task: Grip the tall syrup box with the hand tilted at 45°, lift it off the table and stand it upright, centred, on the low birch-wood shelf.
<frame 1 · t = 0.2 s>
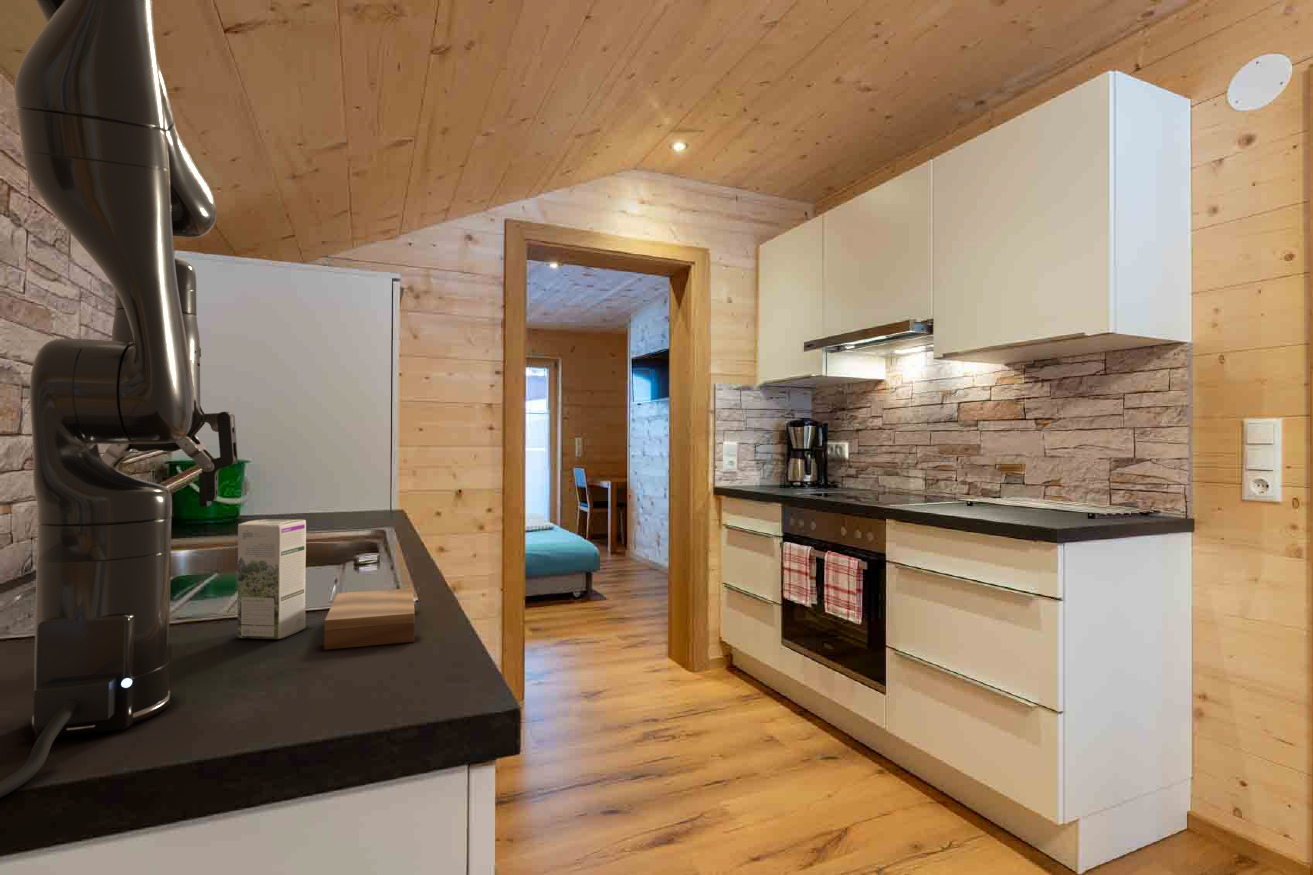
hand: (159, 507, 72), 17 cm above the counter, tool pointing down, fingers open, 8 cm apart
shelf: (373, 629, 88), on the counter
syrup box: (272, 635, 86), on the counter
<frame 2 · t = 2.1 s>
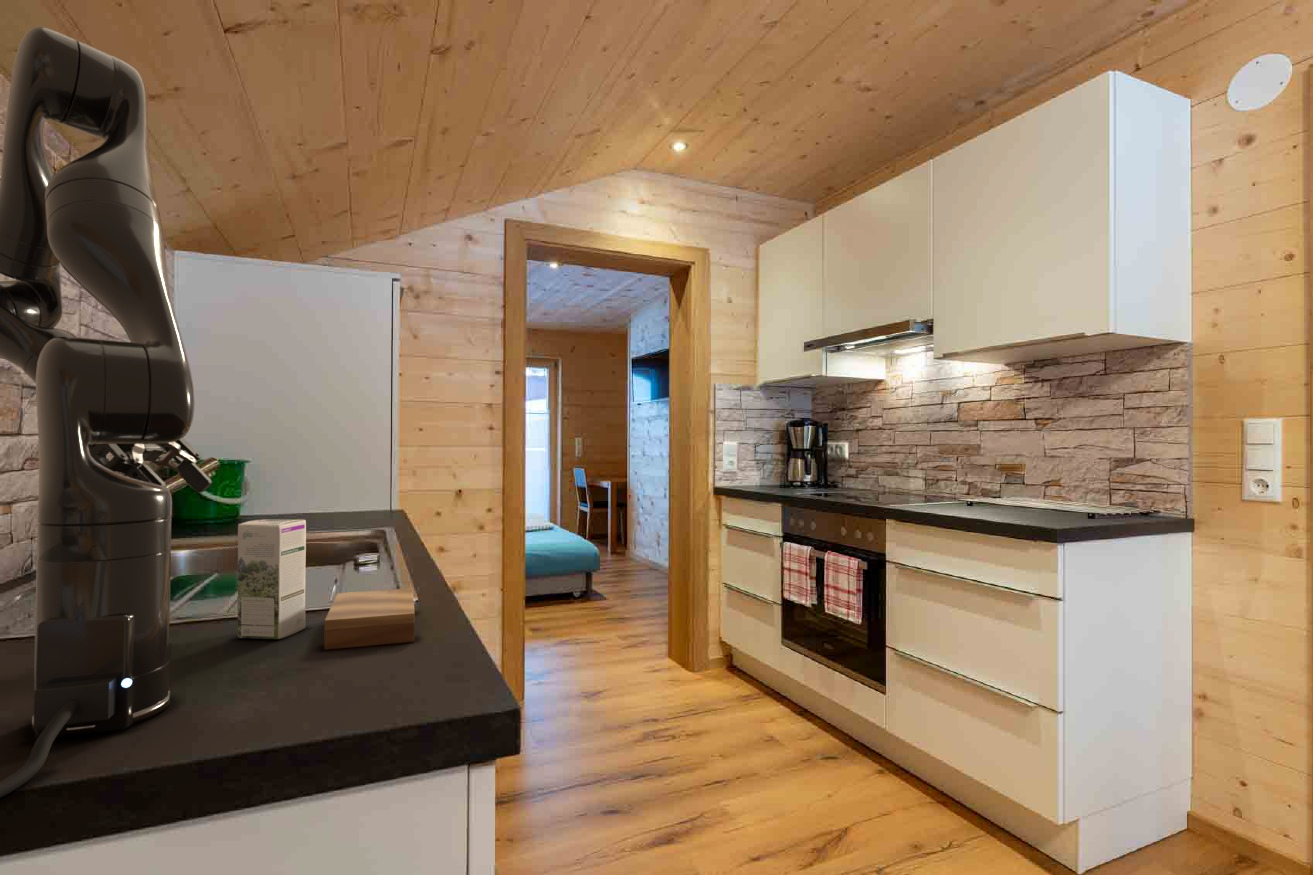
hand: (183, 490, 86), 18 cm above the counter, tool tilted 45°, fingers open, 8 cm apart
nothing on the counter moved.
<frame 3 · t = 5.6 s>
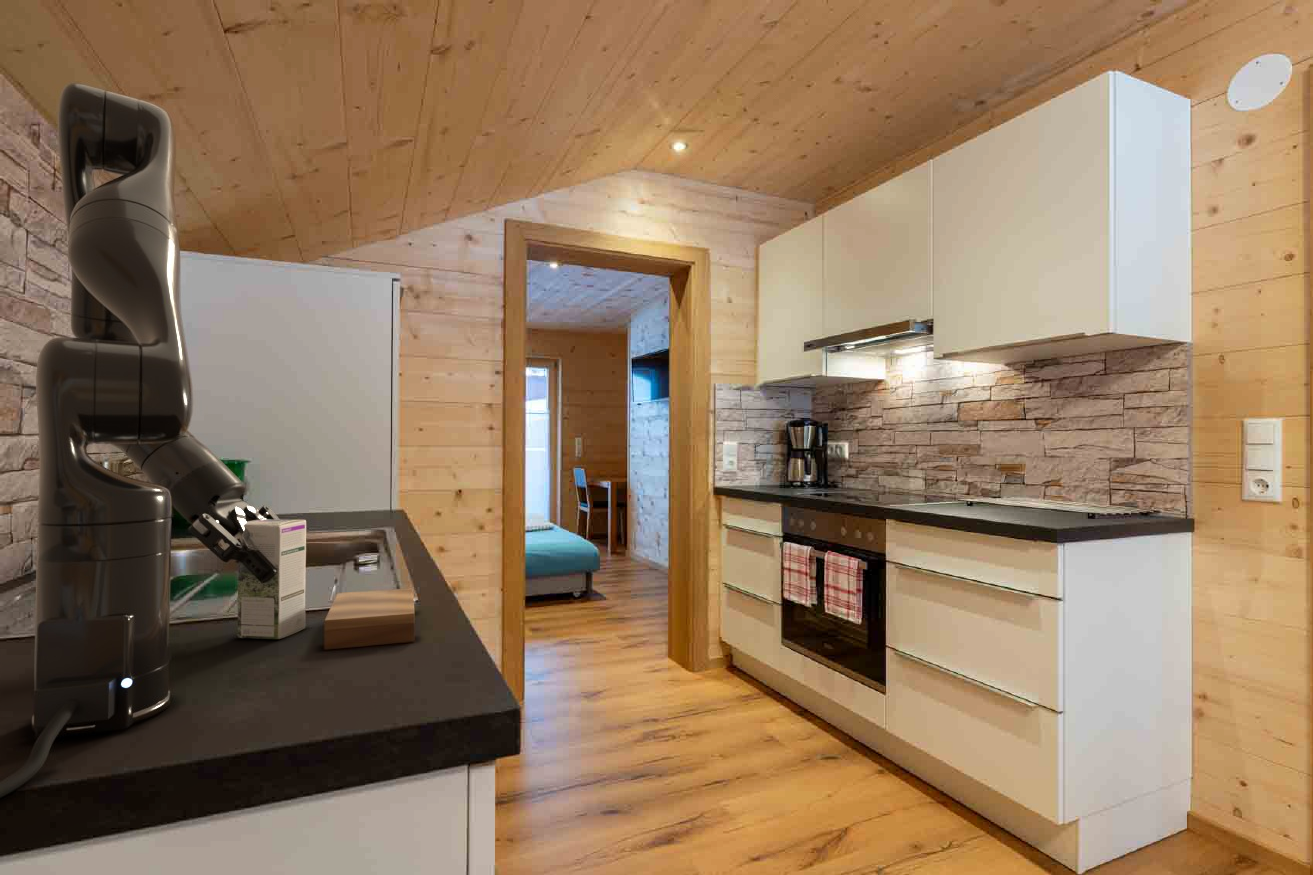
hand: (285, 572, 86), 8 cm above the counter, tool tilted 45°, fingers closed on syrup box, 6 cm apart
syrup box: (271, 635, 86), on the counter, touching gripper
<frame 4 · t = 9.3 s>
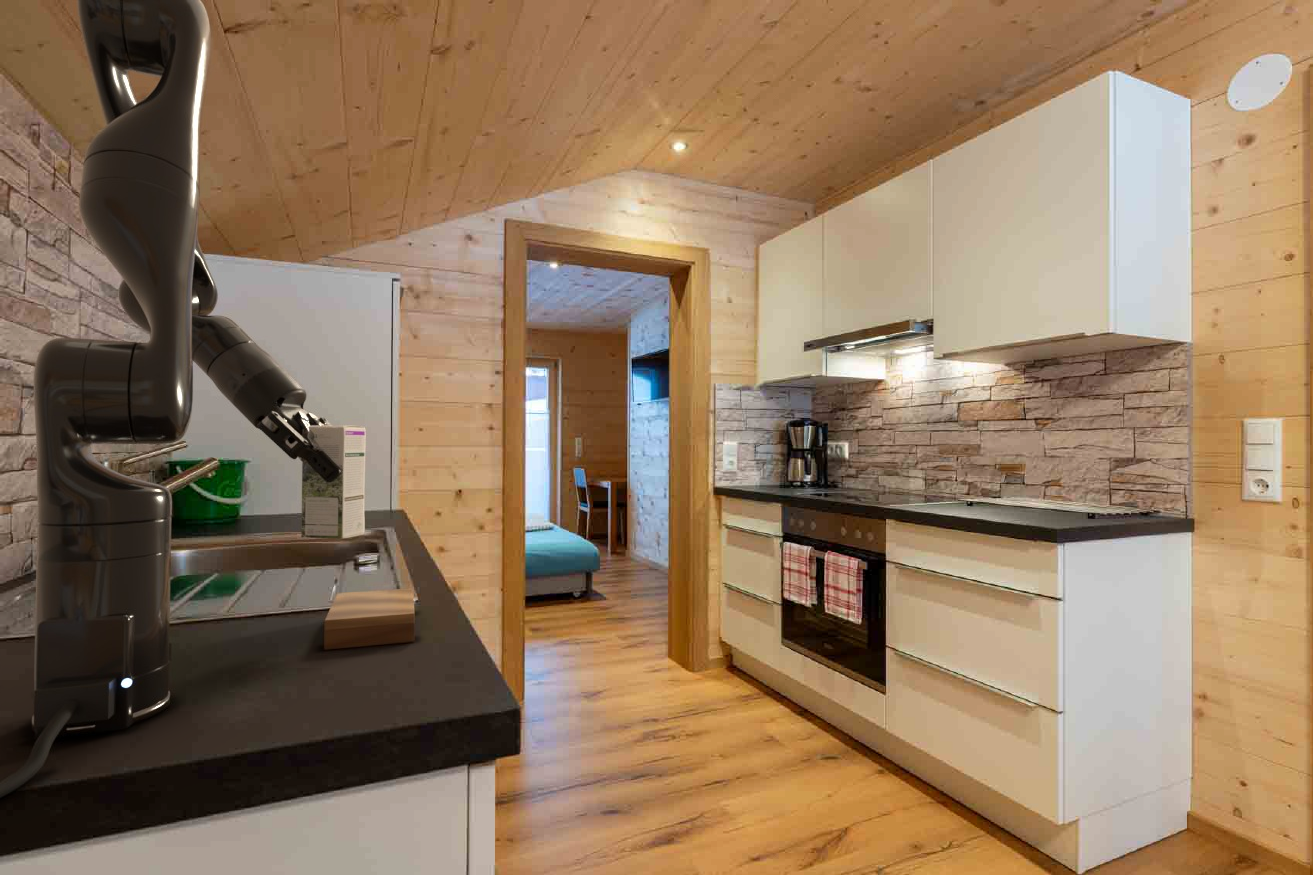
hand: (347, 476, 88), 20 cm above the counter, tool tilted 45°, fingers closed on syrup box, 6 cm apart
syrup box: (333, 537, 88), point 12 cm above the counter, touching gripper
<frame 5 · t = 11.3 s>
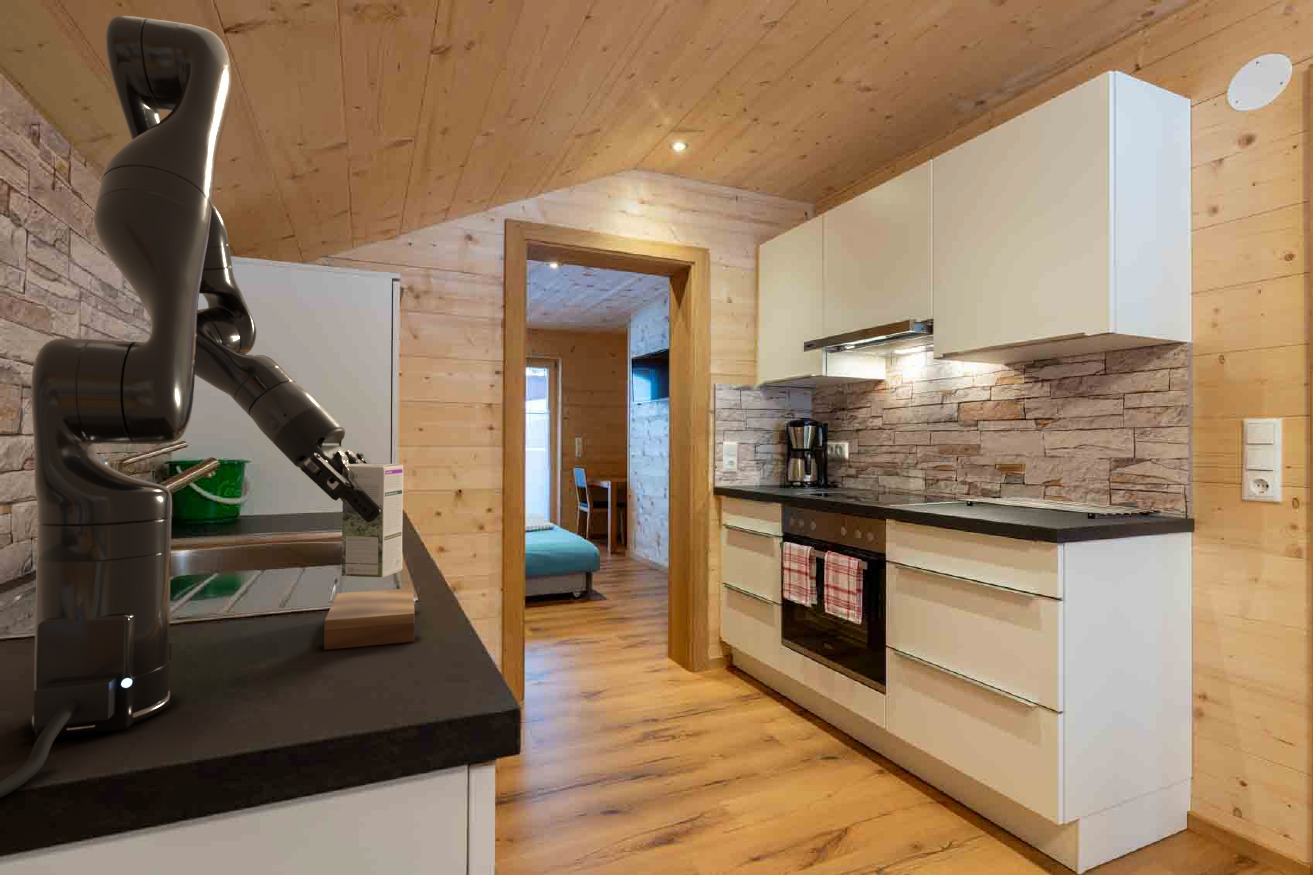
hand: (386, 514, 89), 15 cm above the counter, tool tilted 45°, fingers closed on syrup box, 6 cm apart
syrup box: (372, 575, 88), point 7 cm above the counter, touching gripper
when the fingers open (11 cm above the counter, at t = 12.9 s): syrup box stays where it is, resting on shelf.
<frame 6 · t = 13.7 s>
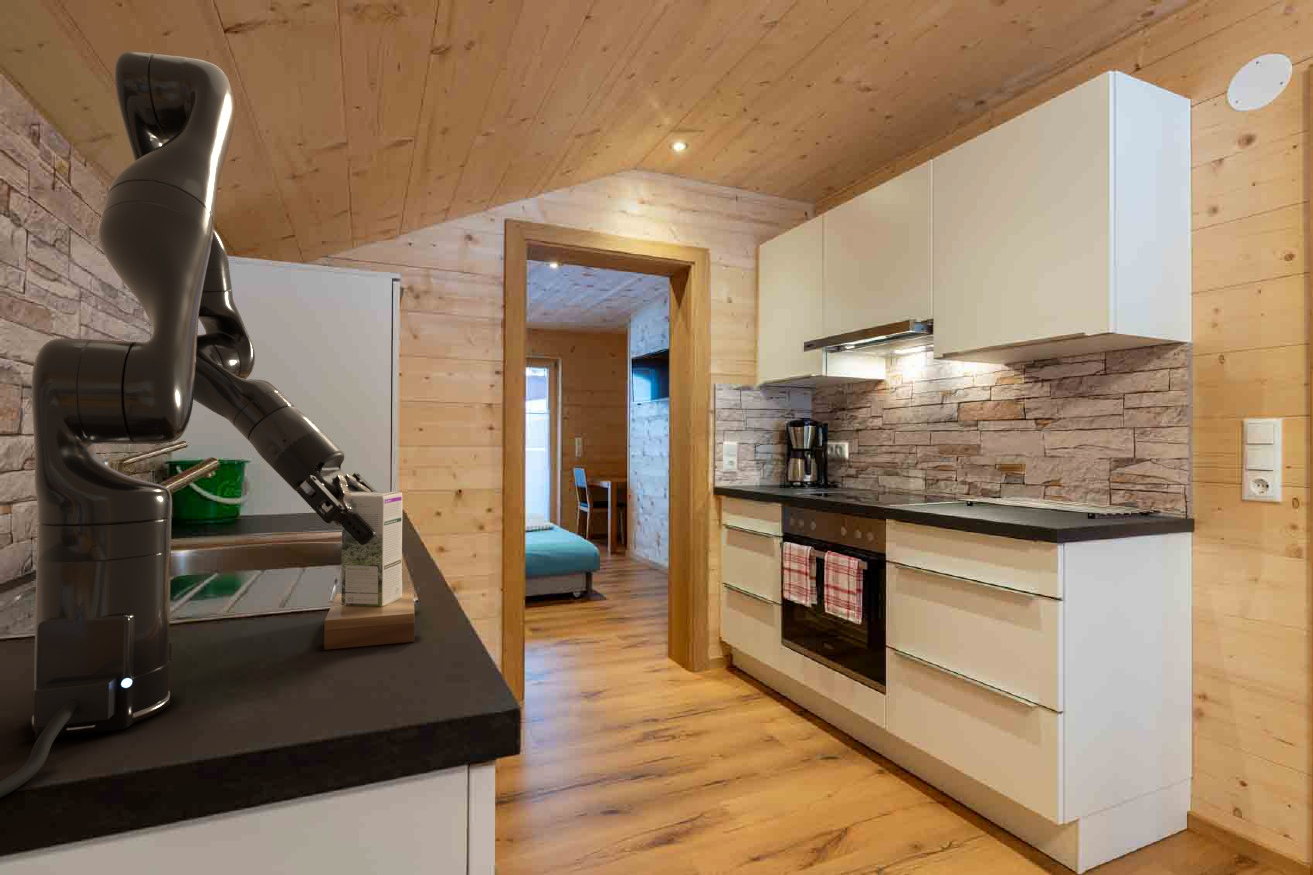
hand: (383, 535, 88), 12 cm above the counter, tool tilted 45°, fingers open, 8 cm apart
syrup box: (372, 603, 88), point 3 cm above the counter, touching shelf
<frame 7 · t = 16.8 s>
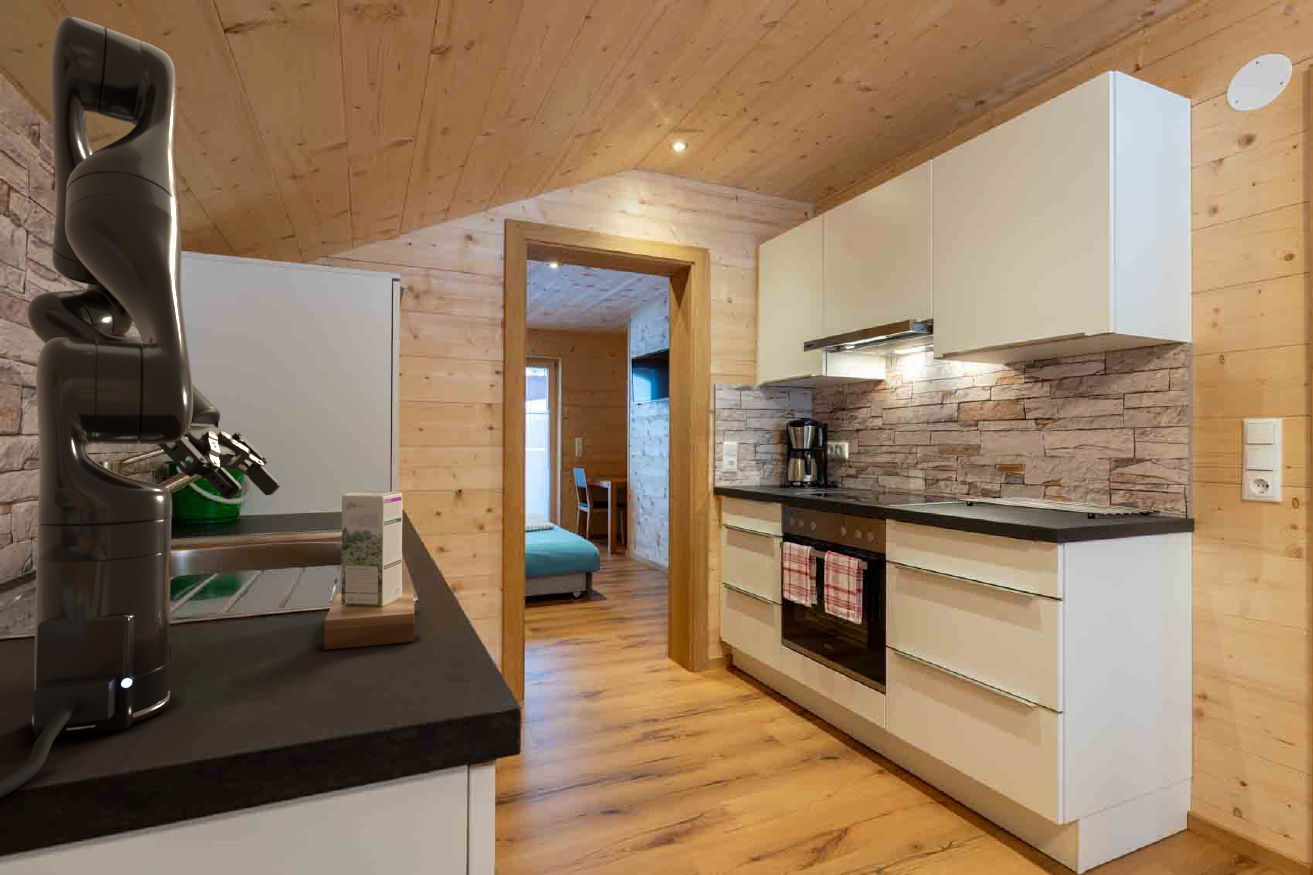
hand: (256, 492, 88), 18 cm above the counter, tool tilted 45°, fingers open, 8 cm apart
nothing on the counter moved.
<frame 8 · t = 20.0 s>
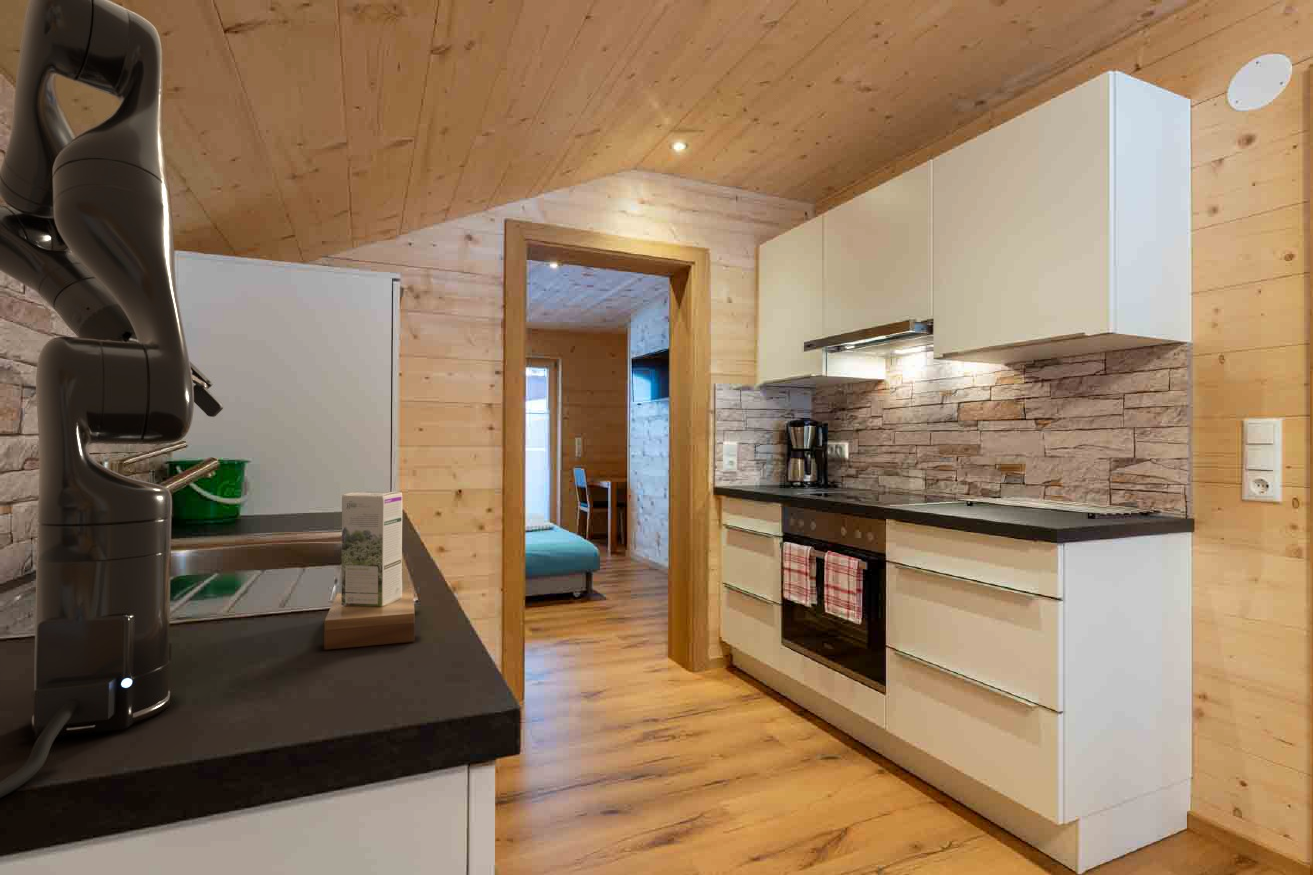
hand: (196, 410, 87), 29 cm above the counter, tool tilted 45°, fingers open, 8 cm apart
nothing on the counter moved.
at the end: syrup box inside the target area on the shelf (0.2 cm from its centre), point 3.3 cm above the shelf's base; syrup box tilted 0°; the gripper is holding nothing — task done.
